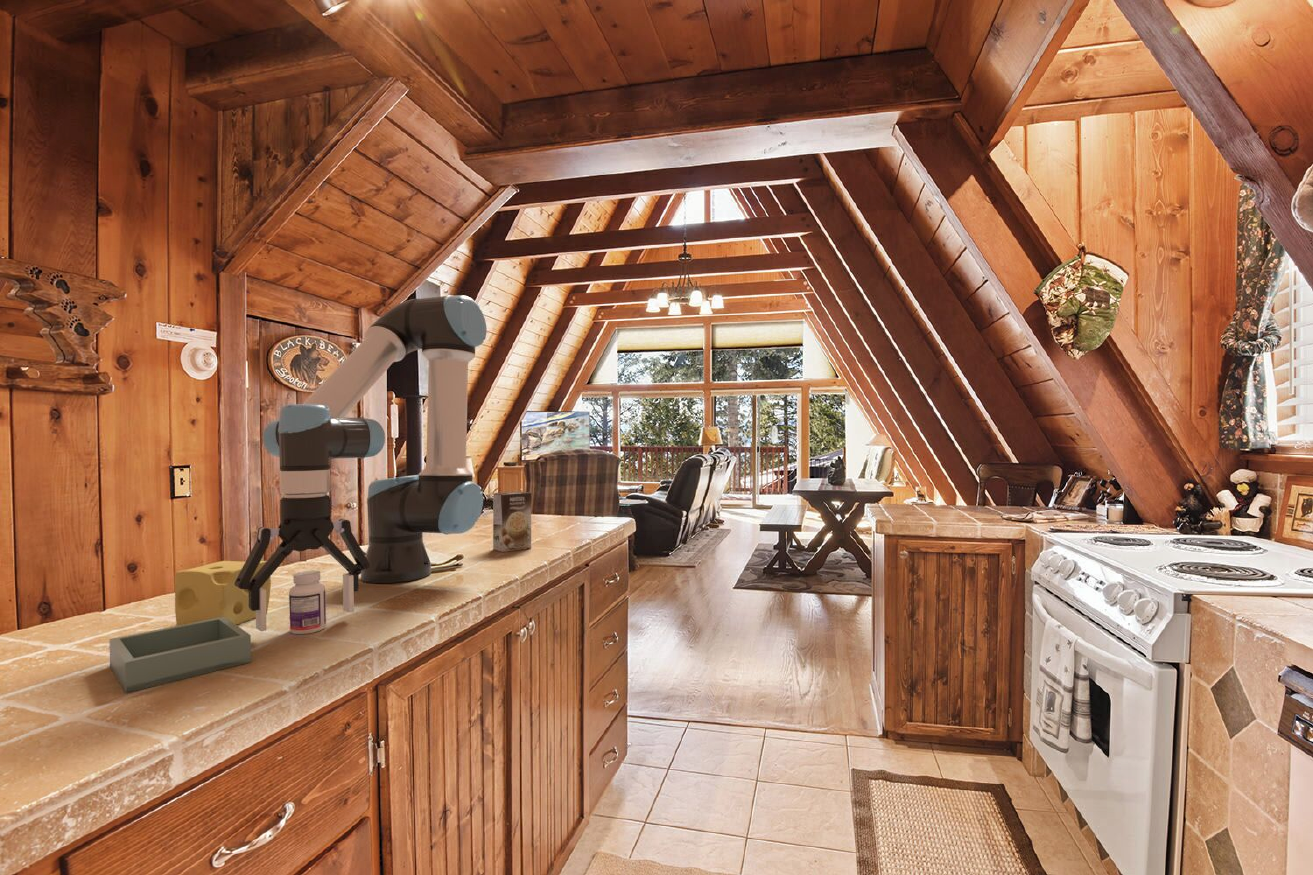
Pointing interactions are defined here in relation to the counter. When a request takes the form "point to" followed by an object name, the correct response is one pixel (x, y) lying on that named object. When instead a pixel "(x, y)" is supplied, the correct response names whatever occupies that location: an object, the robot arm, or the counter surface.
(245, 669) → the counter surface
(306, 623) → the pill bottle
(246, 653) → the tray
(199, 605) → the cheese
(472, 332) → the robot arm
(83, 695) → the counter surface
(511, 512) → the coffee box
